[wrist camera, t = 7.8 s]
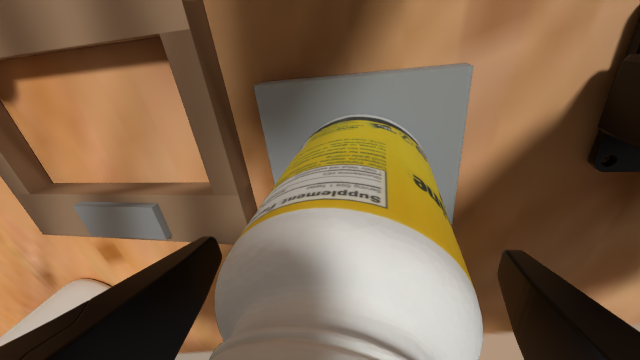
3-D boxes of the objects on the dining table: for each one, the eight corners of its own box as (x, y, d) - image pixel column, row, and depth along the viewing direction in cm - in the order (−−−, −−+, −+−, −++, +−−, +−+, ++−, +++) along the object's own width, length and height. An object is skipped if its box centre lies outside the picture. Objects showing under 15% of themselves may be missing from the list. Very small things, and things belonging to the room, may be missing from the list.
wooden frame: (183, -71, 11) (108, -109, 8) (262, 229, 18) (238, 270, 15) (-88, -4, 15) (-208, -12, 12) (63, 222, 22) (11, 253, 19)
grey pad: (466, 62, 11) (473, 65, 10) (445, 236, 15) (448, 248, 14) (261, 82, 13) (253, 85, 12) (291, 230, 17) (287, 241, 16)
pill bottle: (429, 222, 14) (531, 638, 4) (312, 226, 16) (204, 538, 6) (427, 99, 11) (685, 496, 2) (286, 119, 13) (8, 381, 3)
